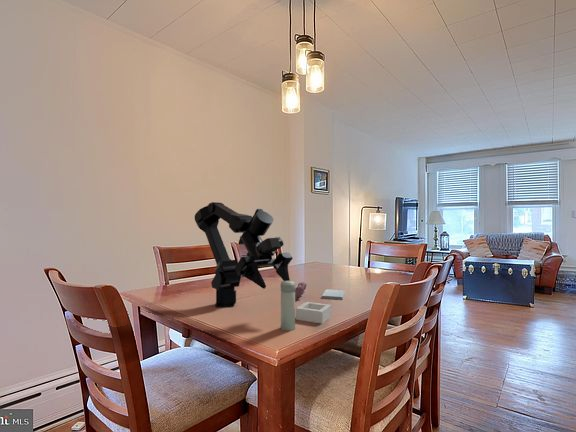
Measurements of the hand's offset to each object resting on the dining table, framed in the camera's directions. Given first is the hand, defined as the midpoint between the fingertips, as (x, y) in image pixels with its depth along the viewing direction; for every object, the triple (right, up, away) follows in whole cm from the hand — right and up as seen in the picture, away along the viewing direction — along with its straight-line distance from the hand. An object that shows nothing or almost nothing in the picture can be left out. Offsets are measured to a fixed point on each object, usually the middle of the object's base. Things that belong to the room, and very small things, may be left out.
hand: (277, 285), depth 94 cm
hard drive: (+22, -12, +36) cm, 44 cm away
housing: (+11, -11, +6) cm, 17 cm away
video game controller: (+7, -12, +33) cm, 36 cm away
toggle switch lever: (+3, -11, -4) cm, 12 cm away
